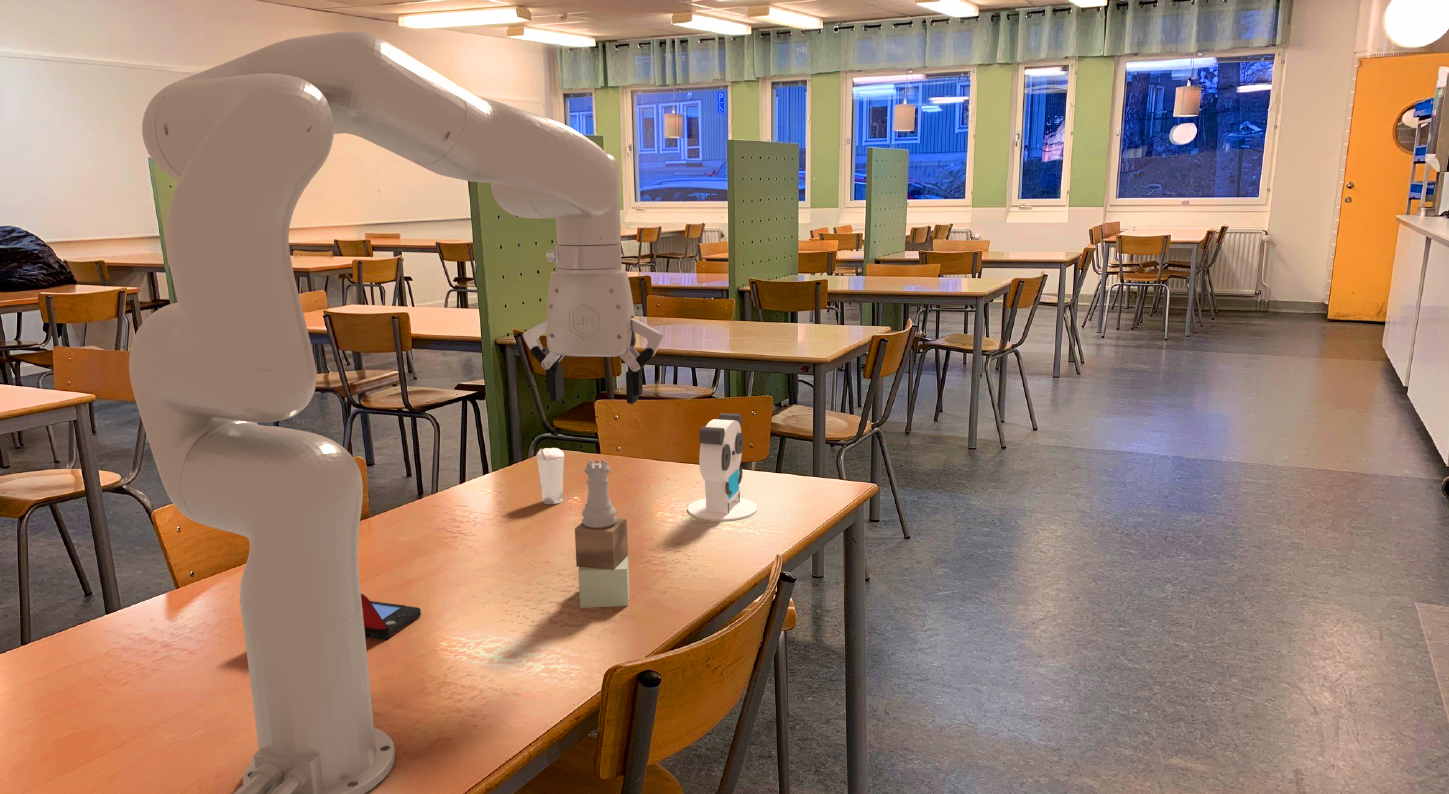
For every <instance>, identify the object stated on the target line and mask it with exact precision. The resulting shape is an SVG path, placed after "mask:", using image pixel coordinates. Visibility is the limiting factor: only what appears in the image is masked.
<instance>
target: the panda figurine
mask: <svg viewBox="0 0 1449 794" xmlns="http://www.w3.org/2000/svg"><path fill="white" fill-rule="evenodd" d="M742 424H743V415H742V414H740V413H726V412H725V413H723V412H720V413H719V415H718V418H717V419H713V418H712V419H711V420H710V421H709V422H707V424H706V425H705V426H701V427H700V429H699V435H698V440H699V444H700V445H699V447H700V448H699V454H698V455H699V457H698V459H699V461H698V463H699V464H698V465H699V471H700V475H701V477H702V479H703V480H704V488H705V489H704V490H705V491H704V493H705V497H704V498H701V499H697V500H694V501H693V502H691V503H689V504H688V506H687V512H688V514H689V515H691V516H692V517H694V518H697V519H701V520H704V521H711V522H731V521H738V520H743V519H747V518H750V517H753V515H755V514H757V512H758V505H757V503H756V502H754V501H752V500H751V499H746V498H743V497H741V489H740V484H741V483H742V479H743V474H744V473H743V472H744V471H743V466H741V461H742V454H743V453H742V452H743V450H744V449H743V448H744V436H743V433H742V428H741V426H742Z"/></svg>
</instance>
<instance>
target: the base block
mask: <svg viewBox="0 0 1449 794" xmlns="http://www.w3.org/2000/svg"><path fill="white" fill-rule="evenodd" d="M629 565H630V564H629V555H628V556H627V557H626V558H625V559H624V560H623V561H622V562H621V563H620V564H619V565H618V566H617V567H616V568H615V569H614V570H608V569H597V568H586V567H578V571H577V572H578V573H577V574H578V590H579V591H578V592H579V594H578V595H579V608H580V609H584V608H585V609H587V608H609V607H613V608H614V607H629V600H630V599H629V598H630V571H629V570H630V569H629V568H630V567H629Z"/></svg>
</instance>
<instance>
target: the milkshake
mask: <svg viewBox="0 0 1449 794" xmlns="http://www.w3.org/2000/svg"><path fill="white" fill-rule="evenodd" d="M536 463H537V469H538V475H539V481H540V482H539V484H540V489H541V496H542V497H541V498H542V502H543V504H545V505H557V504H561V503H562V502H563V499H564V498H563V497H564V495H563V494H564V466H565V464H564V463H565V453H564V451H563V450H562V449H560V448H557V447H551V448H549V447H548V448H547V447H546V448H539V450H538V452H537V453H536Z"/></svg>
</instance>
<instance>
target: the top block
mask: <svg viewBox="0 0 1449 794" xmlns="http://www.w3.org/2000/svg"><path fill="white" fill-rule="evenodd" d="M616 518H617V521H616V522H615V524H614V525H613V526H611V527H608V528H602V529H593V528H588V527H586V526H585V525H584V524H583V523H582V522H581V523H580V524H579V525H577V526H576V527H575V528H574V541H575V561H576V563H575V564H576V565H575V567H577V568H579V567H586V568H597V569H608V570H614V569H615V568H616V567H617V566H618V565H619V564H620V563H621V562H622V561H623V560H624V559H625V558H626V557H627V556H628V557H629V549H628V548H629V547H628V519H627V518H624V517H623V518H622V517H616Z"/></svg>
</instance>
